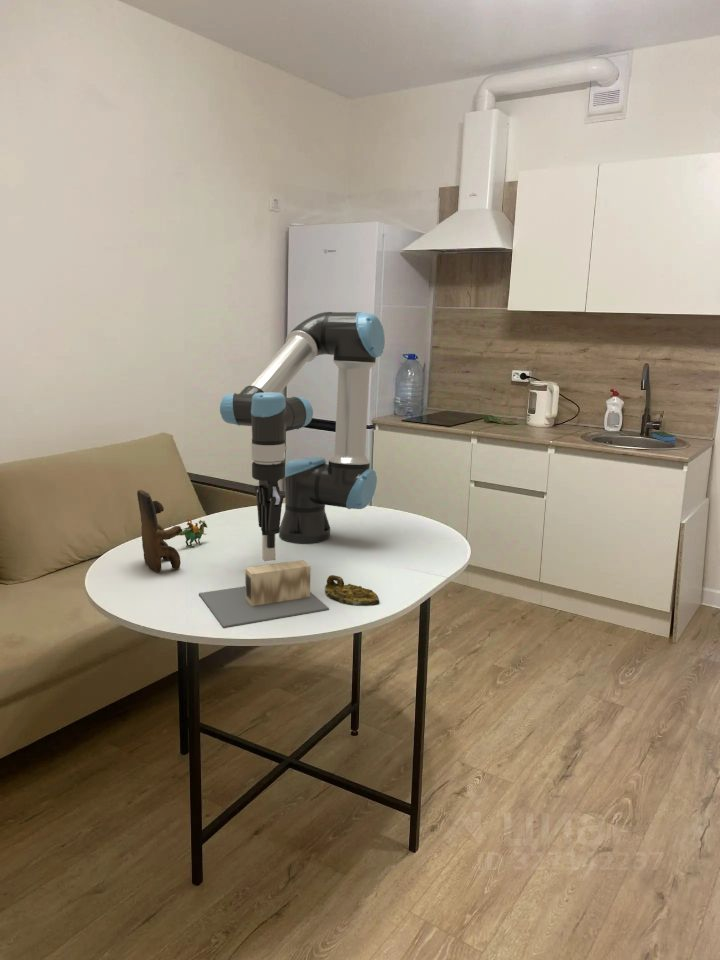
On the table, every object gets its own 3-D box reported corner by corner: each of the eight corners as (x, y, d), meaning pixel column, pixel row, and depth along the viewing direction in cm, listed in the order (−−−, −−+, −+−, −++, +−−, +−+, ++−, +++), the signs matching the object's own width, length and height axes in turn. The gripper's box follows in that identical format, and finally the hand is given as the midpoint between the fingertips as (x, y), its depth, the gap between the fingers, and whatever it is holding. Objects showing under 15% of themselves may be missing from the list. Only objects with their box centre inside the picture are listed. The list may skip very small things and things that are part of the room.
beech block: (245, 599, 165) (302, 590, 172) (251, 606, 162) (310, 596, 168) (245, 567, 164) (302, 559, 170) (251, 574, 160) (310, 565, 166)
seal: (388, 602, 170) (335, 588, 177) (390, 583, 169) (336, 570, 177) (368, 611, 162) (313, 596, 169) (370, 591, 161) (315, 577, 169)
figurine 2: (211, 542, 207) (210, 514, 205) (177, 552, 197) (176, 523, 195) (203, 540, 208) (203, 513, 207) (170, 550, 199) (169, 521, 197)
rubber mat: (295, 580, 179) (295, 578, 179) (328, 609, 162) (328, 608, 161) (198, 594, 168) (198, 593, 168) (223, 628, 151) (223, 626, 151)
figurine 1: (188, 569, 184) (180, 492, 179) (159, 577, 180) (150, 498, 175) (167, 556, 194) (158, 482, 189) (139, 563, 190) (130, 488, 185)
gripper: (294, 465, 161) (293, 566, 167) (274, 455, 173) (274, 549, 178) (262, 467, 158) (262, 570, 163) (243, 457, 170) (245, 553, 175)
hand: (268, 559), depth 171 cm, fingers closed
